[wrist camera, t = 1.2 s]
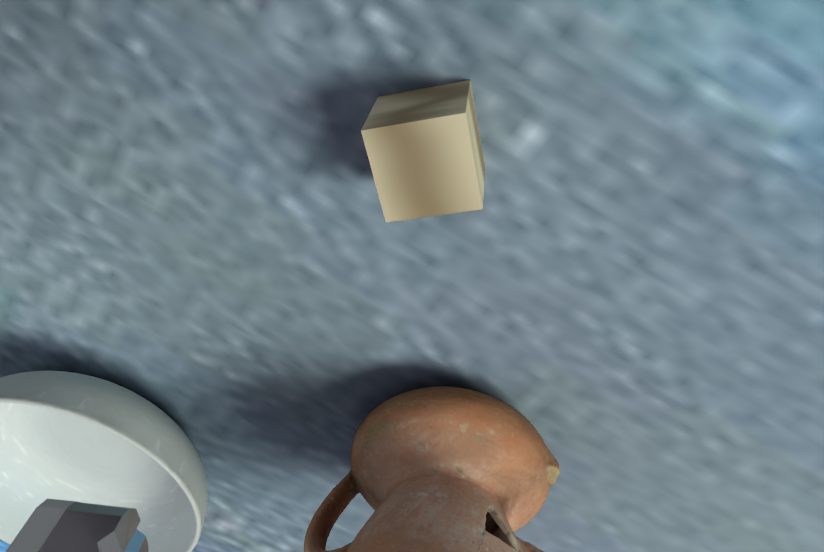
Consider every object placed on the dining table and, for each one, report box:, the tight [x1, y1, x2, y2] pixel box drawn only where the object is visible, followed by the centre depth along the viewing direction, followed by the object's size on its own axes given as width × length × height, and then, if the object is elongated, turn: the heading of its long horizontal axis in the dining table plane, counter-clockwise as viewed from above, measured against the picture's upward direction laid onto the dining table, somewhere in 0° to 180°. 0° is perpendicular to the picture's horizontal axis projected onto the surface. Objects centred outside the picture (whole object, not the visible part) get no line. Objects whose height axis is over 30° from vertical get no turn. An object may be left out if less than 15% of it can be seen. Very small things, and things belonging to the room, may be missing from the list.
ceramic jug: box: [304, 386, 560, 552], centre depth 42 cm, size 18×14×14 cm
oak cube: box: [361, 80, 485, 222], centre depth 32 cm, size 5×5×5 cm
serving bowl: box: [0, 371, 207, 552], centre depth 50 cm, size 21×21×7 cm
